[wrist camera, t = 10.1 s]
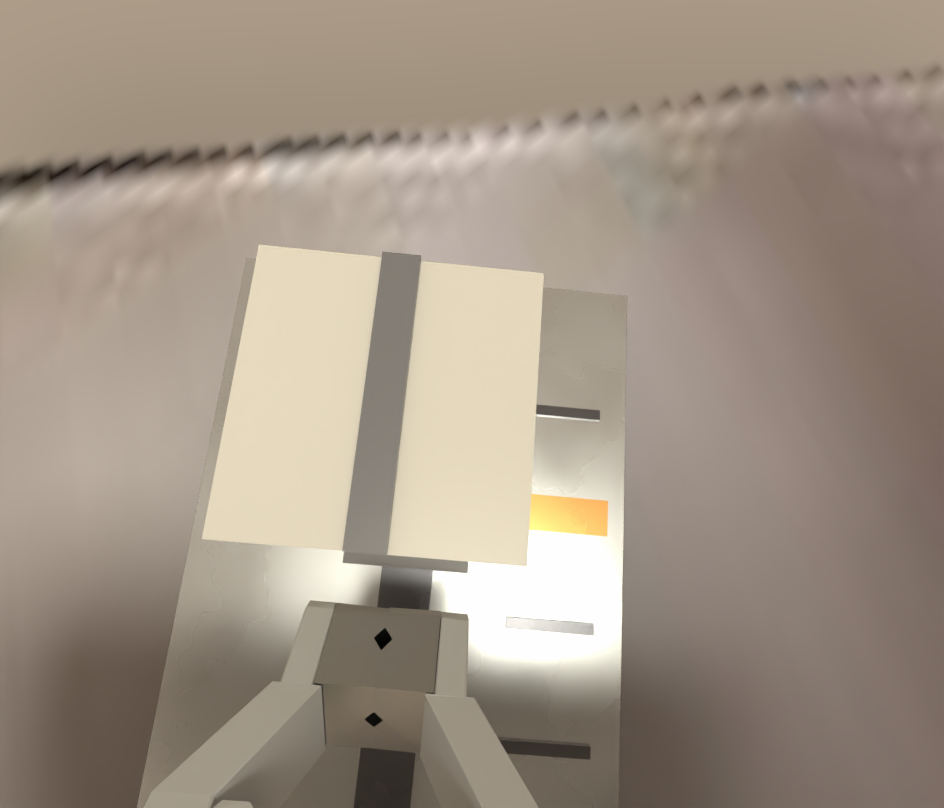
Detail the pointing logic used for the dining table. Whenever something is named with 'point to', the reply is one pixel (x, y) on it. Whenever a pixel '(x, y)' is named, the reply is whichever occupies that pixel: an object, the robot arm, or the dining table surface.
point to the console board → (442, 600)
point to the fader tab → (382, 411)
